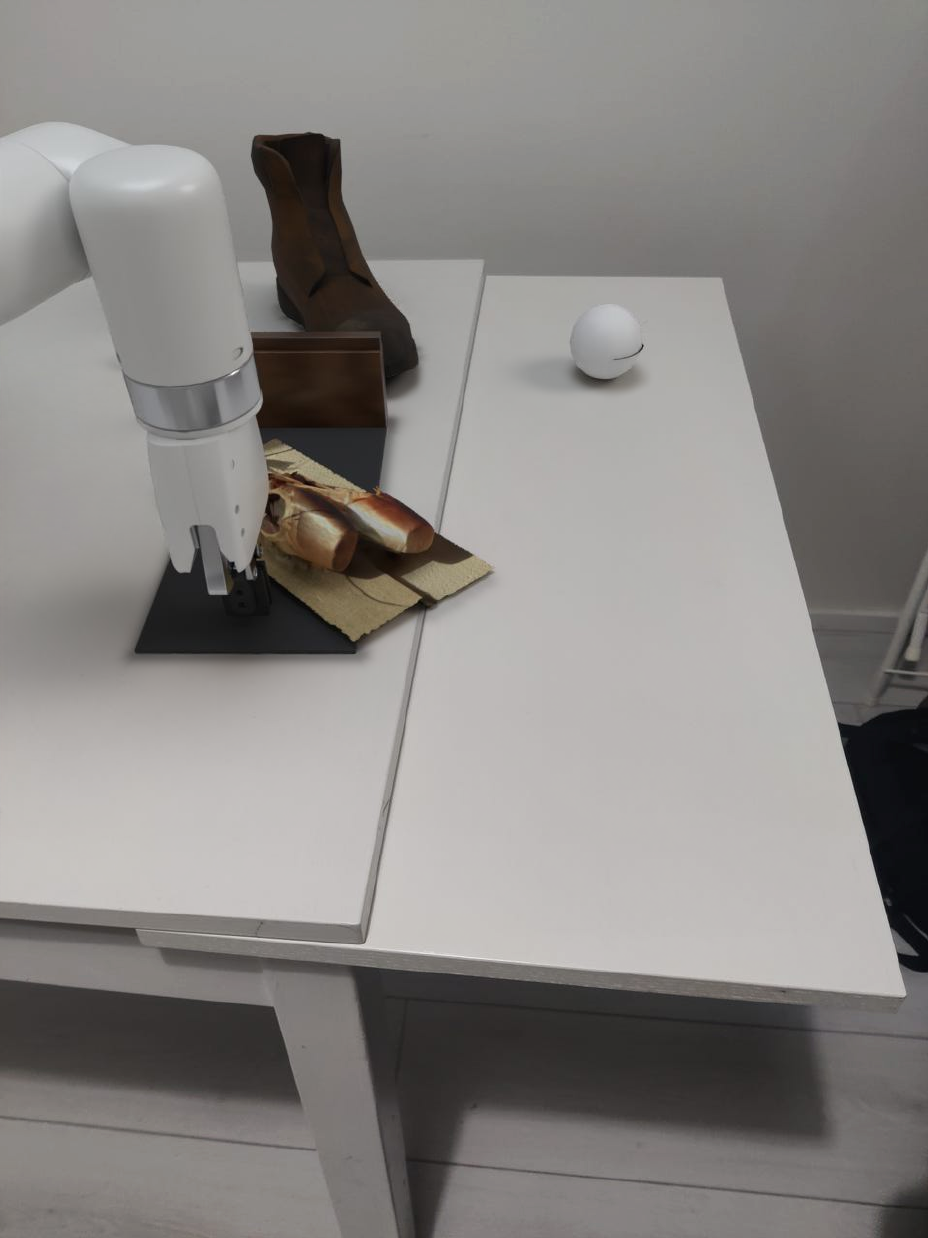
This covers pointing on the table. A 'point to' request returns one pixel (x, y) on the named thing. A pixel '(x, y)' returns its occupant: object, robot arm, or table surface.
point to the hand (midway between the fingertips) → (250, 608)
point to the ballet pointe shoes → (353, 546)
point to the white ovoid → (606, 341)
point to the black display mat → (292, 626)
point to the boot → (323, 247)
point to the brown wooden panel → (321, 379)
